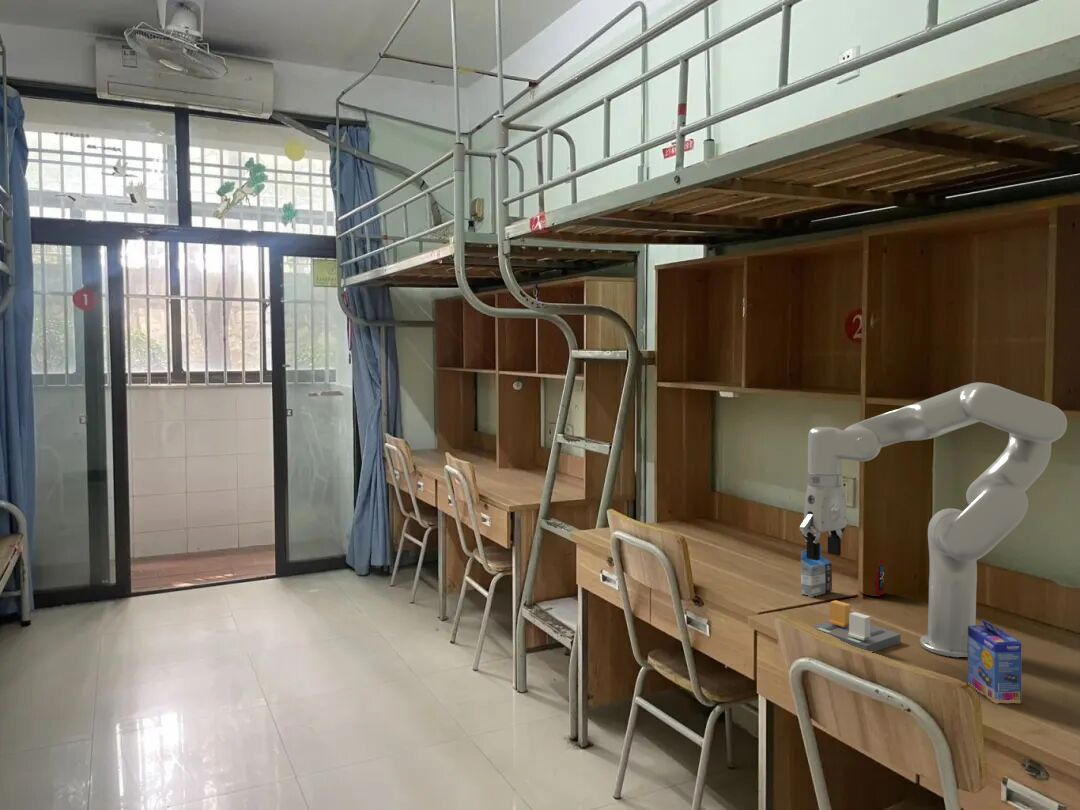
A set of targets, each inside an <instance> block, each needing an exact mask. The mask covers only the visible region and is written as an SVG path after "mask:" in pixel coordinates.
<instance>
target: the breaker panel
mask: <svg viewBox="0 0 1080 810" xmlns="http://www.w3.org/2000/svg"><path fill="white" fill-rule="evenodd" d="M811 627H813V628H815V629H817V630H819V631H822V632H824V633H827V634H830V635H832V636H834V637H836V638H838V639H840V640H841V641H843V642H846V643H848V644H850V645H852V646H855V647H858V648H861V649H864V650H868V651H873V652H872V653H874V652H878V651H881V650H884V649H887V648H890V647H892V646H895V645H898V644H900V643H901V639H902V638H901V635H902V634H901V633H898V632H896V631H893V630H888V629H885V628H883V627H878V626H875V625H872V624H870V636H871V638H870V639H867V640H864V641H863V640H860V639H857V638H854V637H851V636H848V633H849V626H846V627H842V626H838V625H835V624H832V623H829V621H826V622H823V623H819V624H818V623H817V624H816V625H811Z"/></svg>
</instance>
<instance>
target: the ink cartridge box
mask: <svg viewBox="0 0 1080 810" xmlns="http://www.w3.org/2000/svg"><path fill="white" fill-rule="evenodd" d="M981 621H982V623H983V625H981V624H980V625H976V624H975V625H973V626H968V658H967V683H968V682H969V683H970V684H972V685H973V686H975V688H977V689H978V690H979V691H982V692H983V693H985V694H987V695H988V696H990V697H992V698H994V699H999V700H1000V699H1001V700H1010V699H1011V700H1012V699H1014V700H1021V701H1022V641H1020V640H1019V639H1018V638H1015V637H1014V636H1012V635H1010V634H1009V633H1006V632H1003V630H1002V629H1000V628H998V627H996V626H994V624H992V623H990V622H988V621H986V620H984V619H983V618H981Z"/></svg>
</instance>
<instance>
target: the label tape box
mask: <svg viewBox="0 0 1080 810" xmlns="http://www.w3.org/2000/svg"><path fill="white" fill-rule="evenodd" d="M822 549H823V547H822V546H820V560H818V561H816V560H812V559H808V558H807V549H806V550H802V551H801V554H800V584H801V588H800V589H801V593H802V594H805V595H808V596H811V597H810V598H815V597H814V596H816V597H818V595H819V596H822V595H821V594H823V595H825V593H826V594H829V592H830V593H832V592H833V569H832V567H833V565H832V564H833V563H832V562H830V561H829V560H828V559H827V558H825V557H824V556H822V552H823V551H822ZM802 594H801V595H802ZM808 596H807V597H808Z"/></svg>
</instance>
